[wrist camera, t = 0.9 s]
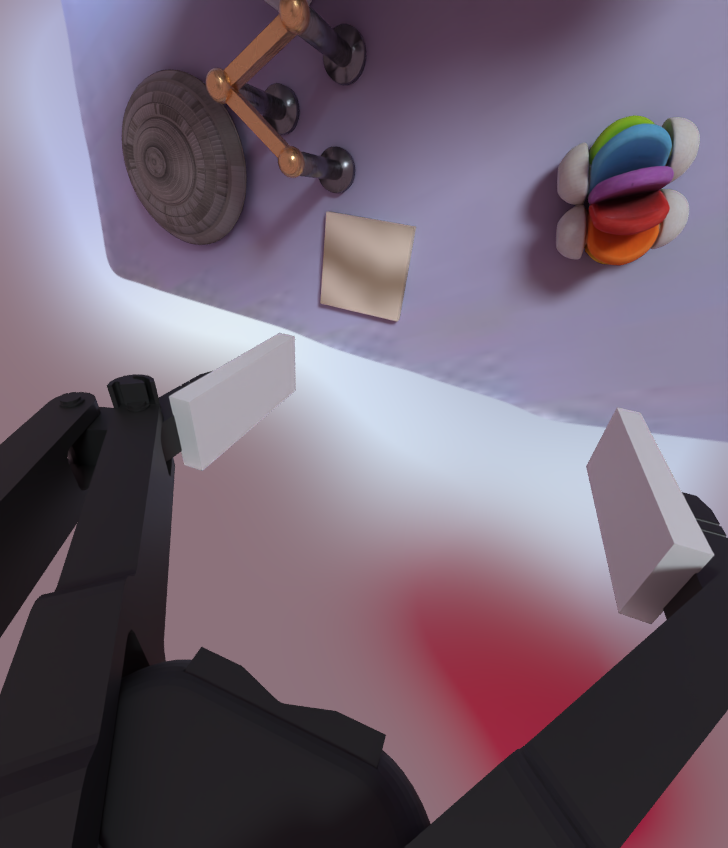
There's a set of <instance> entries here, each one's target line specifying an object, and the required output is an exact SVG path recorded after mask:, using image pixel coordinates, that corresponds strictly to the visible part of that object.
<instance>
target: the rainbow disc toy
mask: <svg viewBox="0 0 728 848" xmlns="http://www.w3.org/2000/svg"><path fill="white" fill-rule="evenodd" d="M699 143H700V135H699V131H698V129H697V127H696V125H695V124H694V123H693V122H691V121H690V120H688V119H685V118H680V117H674V118H669V119H667V120H666V121H665V122H664V124H663V125H662V127H660V126H658V125H655V124H654V123H653V122H652V121H651V120H649V119H647V118H645V117H642V116H629V117H625V118H622V119H619V120H617V121H615V122H614V123H612V124H611V125H610V126H608V127H607V128H606V129H605V130H604V131H603V132H602V133H601V134H600V136H599V137H598V138H597V140H596V141H595V143H594V144H593V146H592V147H591V148H590V151H589V153H588V146H587V144H586V143H581V144H579V145H577V146H576V147H574V148H573V149H572V150H570V151H569V152H568V153H567V154H566V156H565V157H564V158H563V159H562V161H561V163H560V164H559V167H558V174H557V191H558V194H559V196H560V197H561V198H562V199H563V200H564V201H565V202H567V203H569V204H574V205H576V206H574V207H573V208H572V209H570V210H569V211H567V212H566V213H565V214H564V215H563V216H562V217H561V219H560V220H559V222H558V224H557V230H556V248H557V250H558V251H559V252H560V253H561V254H562V255H563V256H565V257H567V258H570V259H580V258H581V256H582V253H583V250H584V248H585V252H586V253H587V254H588V255H589V256H590V257H591V258H592V259H593V260H594V261H596V262H598V263H601V264H611V265H624V264H627V263H630V262H632V261H634V260H636V259H638V258H639V257H641V256H642V255H644V254H645V253H646V252H647V251H648V250H649V249H650V248H651V249H656V248H659V247H662V246H664V245H666V244H668V243H669V242H671V241H672V240H674V239H675V238H676V237H677V236H678V235H679V234H680V233H681V232H682V230H683V229H684V227H685V225H686V223H687V220H688V215H689V204H688V202H687V200H686V198H685V197H684V196H683V195H682V194H681V193H679V192H678V191H675V190H671V189H661V188H663V187H664V186H666V185H667V184H669V183H671V182H672V181H674V180H676V179H677V178H678V177H680V176H681V175H682V174H683V173H684V172H685V171H686V170H687V169H688V168H689V167H690V165H691V164H692V163H693V161H694V159H695V157H696V155H697V152H698V148H699ZM660 189H661V190H660ZM587 197H588V202H589V204H590V206H589V209H588V210H587V209H586V208H585V206H584V201H585V199H586V198H587Z"/></svg>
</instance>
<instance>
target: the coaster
mask: <svg viewBox="0 0 728 848" xmlns="http://www.w3.org/2000/svg"><path fill="white" fill-rule="evenodd" d="M415 230H416V227H415V226H409V225H404V224H398V223H392V222H386V221H381V220H375V219H369V218H363V217H358V216H352V215H346V214H341V213H335V212H326V226H325V241H324V257H323V272H322V287H321V304H325V305H329V306H334V307H338V308H342V309H346V310H351V311H355V312H359V313H364V314H368V315H372V316H376V317H381V318H385V319H389V320H393V321H398V320H399V319H400V314H401V308H402V303H403V297H404V291H405V286H406V280H407V275H408V269H409V264H410V258H411V253H412V247H413V241H414V236H415Z"/></svg>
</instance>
